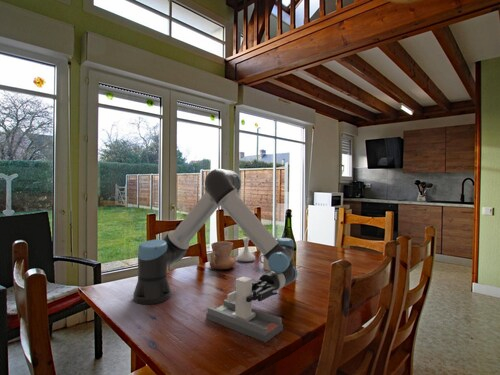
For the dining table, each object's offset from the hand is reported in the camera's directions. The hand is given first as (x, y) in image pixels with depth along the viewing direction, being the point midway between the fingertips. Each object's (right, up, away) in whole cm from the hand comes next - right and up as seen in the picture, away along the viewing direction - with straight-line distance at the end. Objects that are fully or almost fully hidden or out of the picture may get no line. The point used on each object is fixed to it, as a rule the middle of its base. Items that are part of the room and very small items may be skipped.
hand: (233, 300), depth 98 cm
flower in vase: (+4, -8, +87) cm, 88 cm away
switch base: (+3, -10, +5) cm, 11 cm away
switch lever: (+3, -8, +4) cm, 9 cm away
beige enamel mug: (+16, -9, +71) cm, 73 cm away
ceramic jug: (-11, -9, +70) cm, 72 cm away
